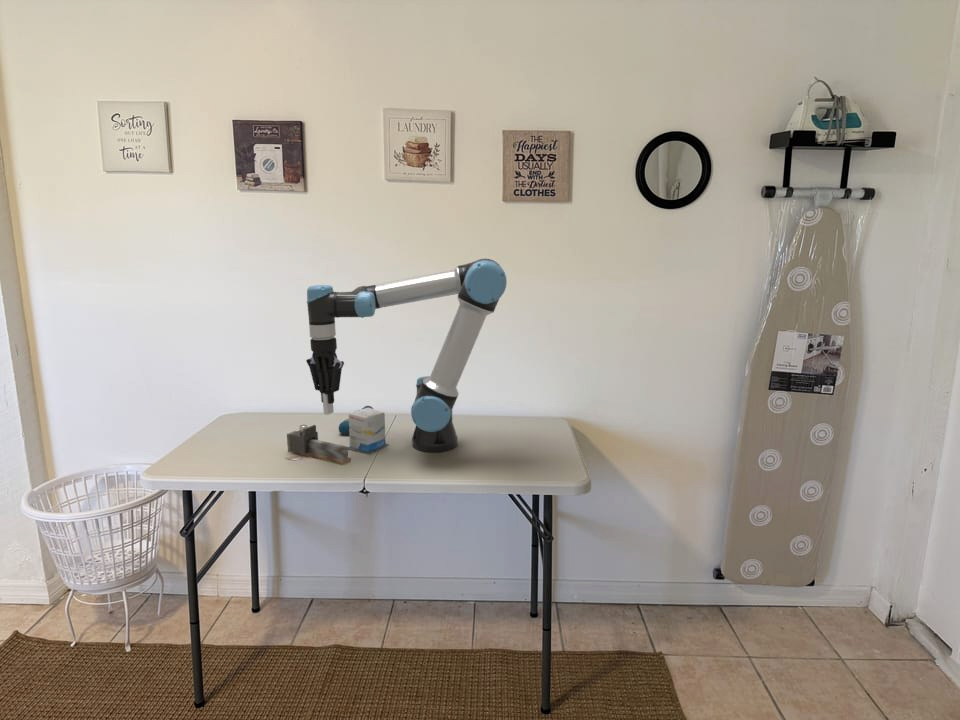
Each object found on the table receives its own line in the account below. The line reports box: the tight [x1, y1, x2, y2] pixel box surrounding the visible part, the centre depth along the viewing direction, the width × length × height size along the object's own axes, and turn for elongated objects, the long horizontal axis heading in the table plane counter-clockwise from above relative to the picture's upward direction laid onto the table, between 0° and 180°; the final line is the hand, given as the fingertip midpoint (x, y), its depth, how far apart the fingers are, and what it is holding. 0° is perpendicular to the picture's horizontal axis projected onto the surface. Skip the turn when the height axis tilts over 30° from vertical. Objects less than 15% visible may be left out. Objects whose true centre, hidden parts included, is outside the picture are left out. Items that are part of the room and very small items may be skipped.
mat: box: [347, 442, 389, 455], centre depth 201 cm, size 10×10×1 cm
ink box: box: [348, 408, 386, 452], centre depth 200 cm, size 9×8×12 cm
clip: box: [290, 424, 319, 454], centre depth 194 cm, size 6×6×8 cm
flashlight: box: [338, 405, 374, 436], centre depth 221 cm, size 5×22×5 cm, turn 166°
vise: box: [285, 430, 351, 466], centre depth 190 cm, size 22×8×6 cm, turn 62°
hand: (328, 413), depth 188 cm, fingers closed
